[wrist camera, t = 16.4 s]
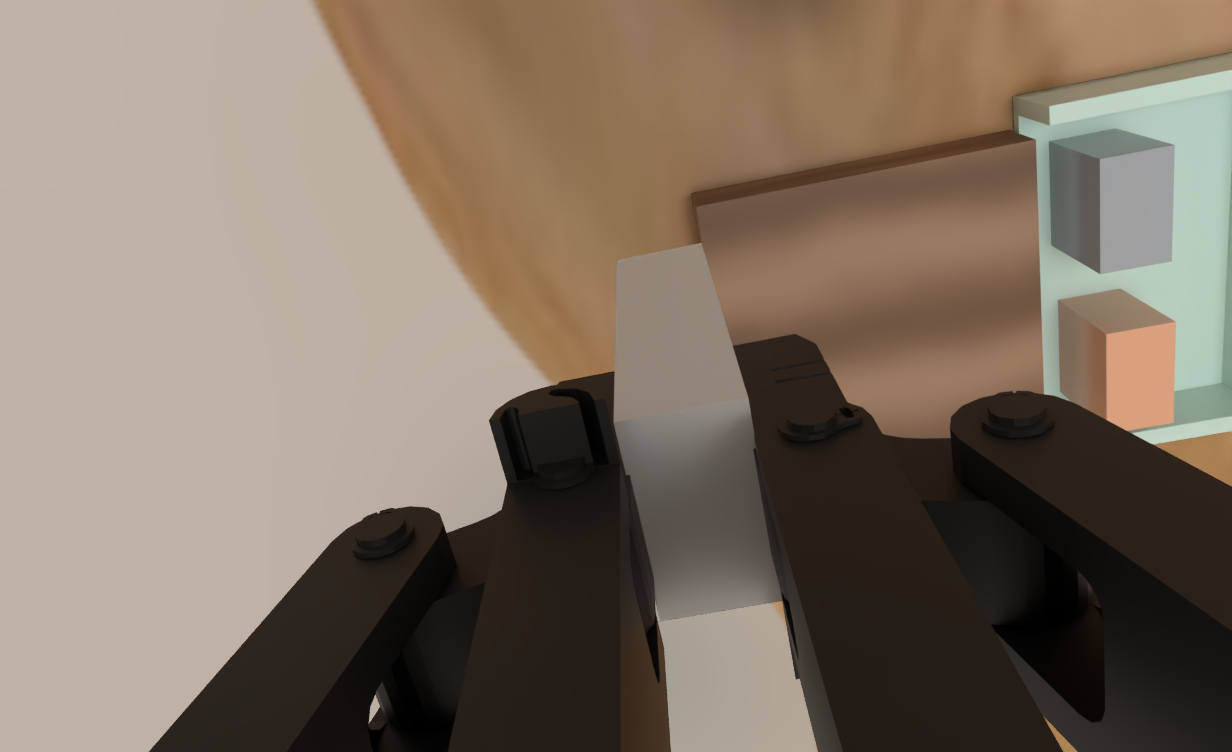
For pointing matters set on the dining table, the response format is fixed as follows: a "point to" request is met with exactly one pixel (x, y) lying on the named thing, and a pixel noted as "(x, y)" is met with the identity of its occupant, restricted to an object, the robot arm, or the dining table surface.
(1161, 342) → the terracotta tile
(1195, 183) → the tray
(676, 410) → the robot arm
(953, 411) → the plate
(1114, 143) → the grey square block
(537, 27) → the dining table surface
